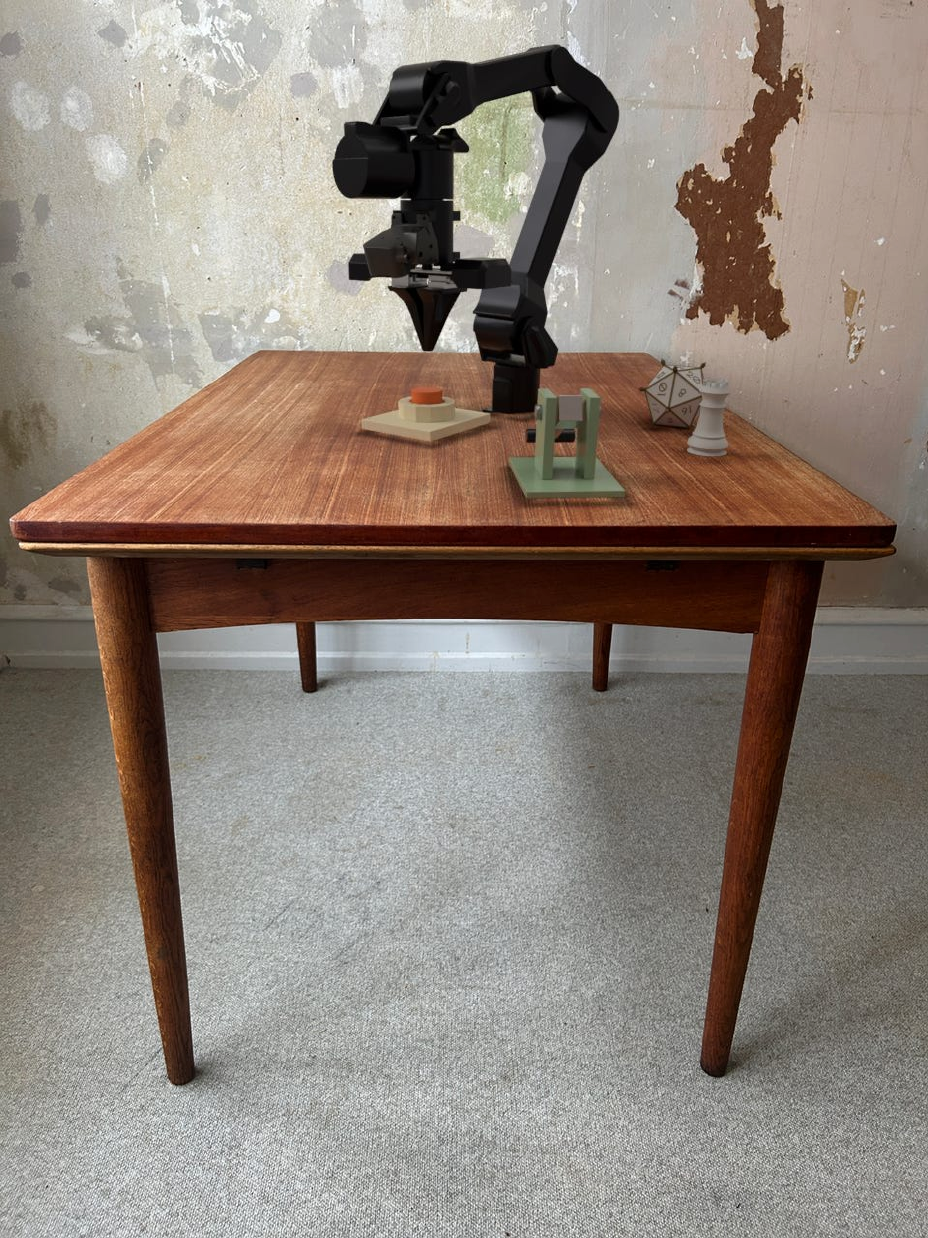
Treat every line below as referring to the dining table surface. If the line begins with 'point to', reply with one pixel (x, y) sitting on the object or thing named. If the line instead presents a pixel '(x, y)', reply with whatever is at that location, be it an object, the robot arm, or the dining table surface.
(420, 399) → the button
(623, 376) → the dining table surface
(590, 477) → the green lever stand
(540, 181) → the robot arm
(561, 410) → the lever
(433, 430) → the button block
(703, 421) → the rook chess piece
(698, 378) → the game die
